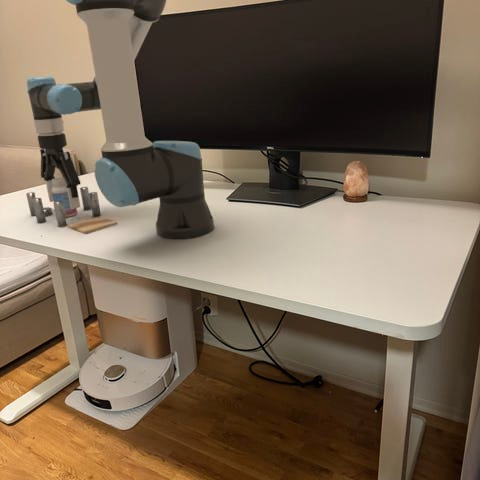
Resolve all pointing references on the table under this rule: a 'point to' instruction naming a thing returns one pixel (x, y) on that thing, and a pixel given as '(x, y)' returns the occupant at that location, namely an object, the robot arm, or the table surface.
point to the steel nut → (48, 211)
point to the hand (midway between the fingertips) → (64, 204)
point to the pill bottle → (62, 196)
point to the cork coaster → (92, 225)
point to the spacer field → (88, 202)
